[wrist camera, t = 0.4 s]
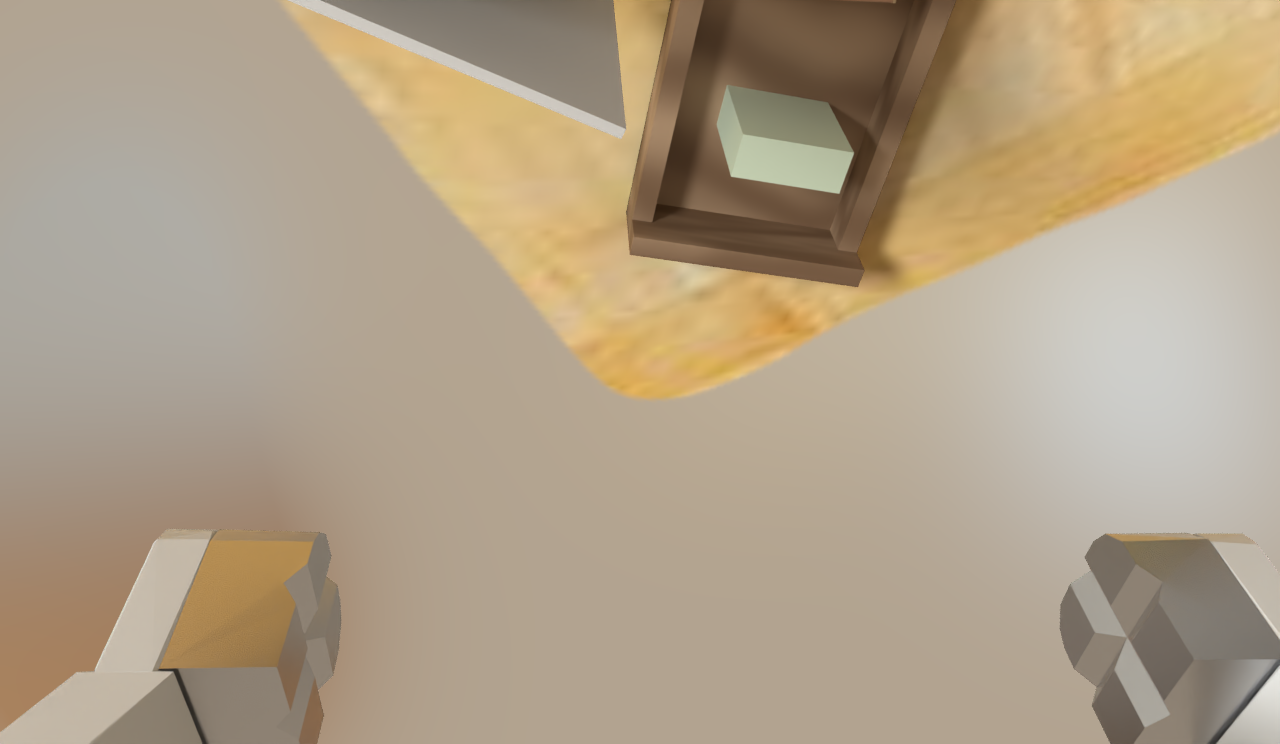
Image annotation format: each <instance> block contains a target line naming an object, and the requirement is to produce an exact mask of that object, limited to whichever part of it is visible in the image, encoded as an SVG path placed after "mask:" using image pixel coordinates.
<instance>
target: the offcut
mask: <svg viewBox="0 0 1280 744" xmlns="http://www.w3.org/2000/svg"><path fill="white" fill-rule="evenodd" d="M843 1H866V2H890V3H893V1H894V0H843Z"/></svg>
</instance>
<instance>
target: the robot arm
mask: <svg viewBox="0 0 1280 744" xmlns="http://www.w3.org/2000/svg"><path fill="white" fill-rule="evenodd" d="M330 559H331V552H330V548H329V544H328V540H327V537H326V534H324V533H320V532H290V531H253V530H193V529H191V530H190V529H167V530H166V531H165V532H164V533H163V534H162V535H161V536H160V537H159V538H158V539H157V540H156V541H155V542H154V544H153V546H152V548H151V550H150V552H149V554H148V556H147V558H146V561H145V563H144V565H143V567H142V569H141V571H140V573H139V576H138V578H137V580H136V582H135V584H134V586H133V588H132V591H131V593H130V595H129V597H128V599H127V601H126V603H125V606H124V608H123V610H122V612H121V614H120V616H119V619H118V621H117V623H116V625H115V627H114V629H113V631H112V634H111V636H110V638H109V640H108V642H107V644H106V646H105V649H104V651H103V653H102V655H101V657H100V659H99V661H98V664H97V666H96V668H95V670H94V671H92V672H77V673H75V674H74V675H73V676H72V677H70V678H69V679H68V680H66V681H65V682H64V683H63V684H61V685H60V686H59V687H57V689H55V690H54V691H52V692H51V693H50V694H49V695H47V696H46V697H45V698H43V699H42V700H41V701H40V702H38V703H37V704H36V705H35V706H33V707H32V708H31V709H30V710H28V711H27V712H26V713H24V714H23V715H22V716H21V717H19V718H18V719H17V720H16V721H14V722H13V723H12V724H10V725H9V726H8V727H7V728H5V729H4V730H3V731H1V732H0V744H317V742H318V738H319V734H320V730H321V725H322V721H323V717H324V713H323V709H322V705H321V701H320V696H319V692H318V690H319V689H320V688H321V687H322V686H323V685H324V684H325V683H326V682H327V681H328V680H329V679H330V678H331V677H332V676H333V674H334V669H335V664H336V660H337V655H338V650H339V640H340V630H341V605H340V597H339V591H338V586H337V584H336V583H334V582H333V581H332V580H330V579H329V578H328V577H327V576H326V575H327V571H328V567H329V563H330ZM1085 559H1086V561H1087V563H1088V565H1089V567H1090V569H1091V571H1089V572H1088V573H1086V574H1085V575H1083V576H1082V577H1080V578H1079V579H1077V580H1076V581H1074V582H1073V583H1071V584H1070V586H1069V588H1068V590H1067V592H1066V594H1065V596H1064V598H1063V601H1062V603H1061V609H1060V631H1061V636H1062V640H1063V644H1064V648H1065V650H1066V652H1067V654H1068V657H1069V659H1070V661H1071V663H1072V665H1073V668H1074V669H1075V670H1076V671H1077V672H1079V673H1080V674H1081V675H1082V676H1084V677H1085V678H1086V679H1087V680H1089V681H1090V682H1091V683H1092V684H1094V685H1095V686H1096V691H1095V696H1094V699H1093V703H1092V707H1093V709H1094V711H1095V713H1096V715H1097V717H1098V719H1099V721H1100V723H1101V725H1102V727H1103V730H1104V731H1105V734H1106V736H1107V738H1108V739H1109V741H1110V744H1280V574H1279V572H1278V571H1277V570H1276V568H1275V567H1274V565H1273V564H1272V563H1271V562H1270V560H1269V559H1268V558H1267V556H1266V555H1265V554H1264V552H1263V551H1262V550H1261V548H1260V547H1259V546H1258V544H1256V543H1255V542H1254V541H1253V540H1251V539H1250V538H1248V537H1247V536H1245V535H1243V534H1189V533H1156V534H1155V533H1152V534H1151V533H1146V534H1104V535H1103V536H1101V537H1100V538H1098V539H1096V540H1095V541H1094V542H1093V543H1092V545H1091V547H1090V549H1089V551H1088V552H1087V554H1086V556H1085Z"/></svg>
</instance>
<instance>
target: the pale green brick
mask: <svg viewBox="0 0 1280 744" xmlns="http://www.w3.org/2000/svg"><path fill="white" fill-rule="evenodd" d="M717 128H718V132H719V135H720V139H721V142H722V146H723V149H724V153H725V157H726V160H727V164H728V167H729V171H730V175H731V177H737V178H743V179H749V180H756V181H762V182H768V183H775V184H781V185H787V186H793V187H800V188H806V189H812V190H819V191H825V192H831V193H838V194H839V193H840V190H841V187H842V185H843V182H844V179H845V176H846V174H847V171H848V168H849V166H850V163H851V160H852V157H853V155H854V152H853V150H852V148H851V146H850V144H849V142H848V140H847V138H846V136H845V134H844V132H843V130H842V129H841V127H840V125H839V123H838V121H837V119H836V117H835V115H834V113H833V111H832V109H831V107H830V106H829V104H828V102H822V101H816V100H811V99H805V98H799V97H794V96H788V95H782V94H777V93H771V92H765V91H759V90H754V89H748V88H742V87H737V86H731V85H727V87H726V90H725V94H724V98H723V102H722V106H721V109H720V113H719V117H718V121H717Z"/></svg>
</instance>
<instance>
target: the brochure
mask: <svg viewBox="0 0 1280 744" xmlns="http://www.w3.org/2000/svg"><path fill="white" fill-rule="evenodd" d="M288 1H291V2H293V3H296V4H298V5H300V6H303V7H305V8H308V9H310V10H312V11H315V12H317V13H320V14H322V15H324V16H327V17H329V18H332V19H334V20H336V21H339V22H341V23H344V24H346V25H349V26H351V27H353V28H356V29H358V30H361V31H363V32H365V33H368V34H370V35H373V36H375V37H377V38H380V39H382V40H385V41H387V42H389V43H392V44H394V45H397V46H399V47H401V48H404V49H406V50H409V51H411V52H413V53H416V54H418V55H421V56H423V57H425V58H428V59H430V60H433V61H435V62H437V63H440V64H442V65H445V66H447V67H449V68H452V69H454V70H457V71H459V72H461V73H464V74H466V75H469V76H471V77H473V78H476V79H478V80H481V81H483V82H485V83H488V84H490V85H493V86H495V87H497V88H500V89H502V90H505V91H507V92H509V93H512V94H514V95H517V96H519V97H521V98H524V99H526V100H529V101H531V102H533V103H536V104H538V105H541V106H543V107H545V108H548V109H550V110H553V111H555V112H557V113H560V114H562V115H565V116H567V117H569V118H572V119H574V120H577V121H579V122H581V123H584V124H586V125H589V126H591V127H593V128H596V129H598V130H601V131H603V132H605V133H608V134H610V135H613V136H615V137H617V138H620V139H621V138H622V136H623V134H624V132H625V130H626V124H625V114H624V104H623V94H622V84H621V73H620V63H619V53H618V43H617V33H616V23H615V13H614V3H613V0H288Z"/></svg>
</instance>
